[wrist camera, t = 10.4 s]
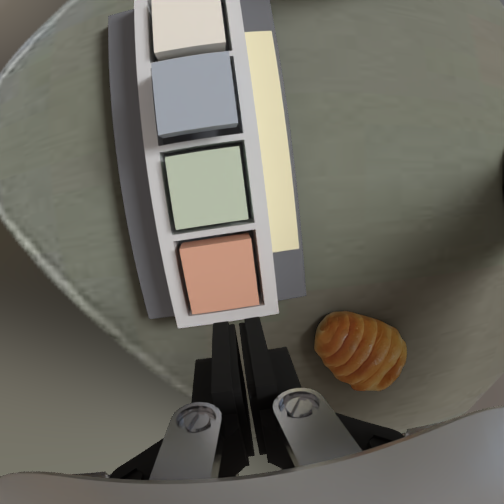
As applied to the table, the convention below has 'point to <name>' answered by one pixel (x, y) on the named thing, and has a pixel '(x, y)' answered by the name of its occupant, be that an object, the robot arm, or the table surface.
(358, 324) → the pastry
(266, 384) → the robot arm
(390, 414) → the table surface
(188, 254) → the terracotta key
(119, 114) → the keypad
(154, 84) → the slate key
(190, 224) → the sage key
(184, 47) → the ivory key
